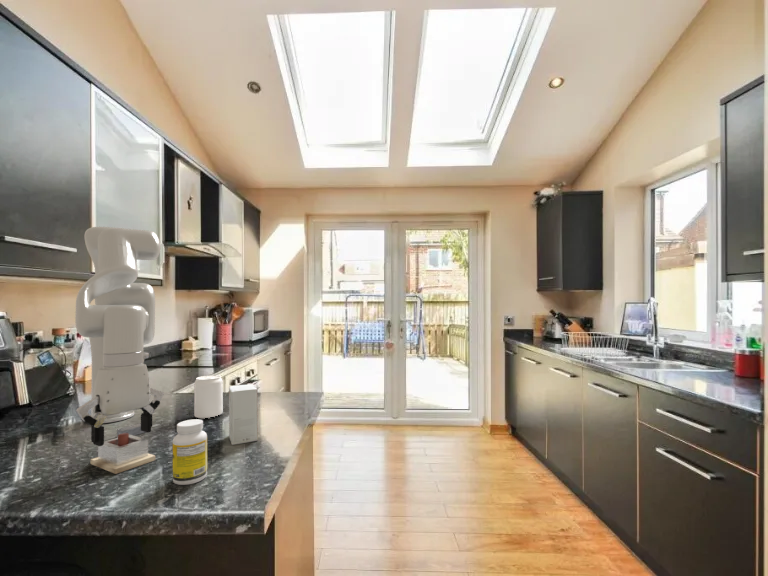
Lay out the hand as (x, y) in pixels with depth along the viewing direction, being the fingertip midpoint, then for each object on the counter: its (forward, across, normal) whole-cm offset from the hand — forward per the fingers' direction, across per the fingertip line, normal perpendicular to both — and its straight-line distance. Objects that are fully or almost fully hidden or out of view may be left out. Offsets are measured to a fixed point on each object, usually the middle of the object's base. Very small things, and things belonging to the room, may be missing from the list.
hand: (123, 437), depth 86 cm
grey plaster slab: (+5, -11, -18) cm, 22 cm away
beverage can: (+6, -32, -16) cm, 36 cm away
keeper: (+5, 0, 0) cm, 5 cm away
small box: (+6, -23, +12) cm, 26 cm away
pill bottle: (+6, -2, +22) cm, 22 cm away
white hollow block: (+4, 0, 0) cm, 4 cm away
